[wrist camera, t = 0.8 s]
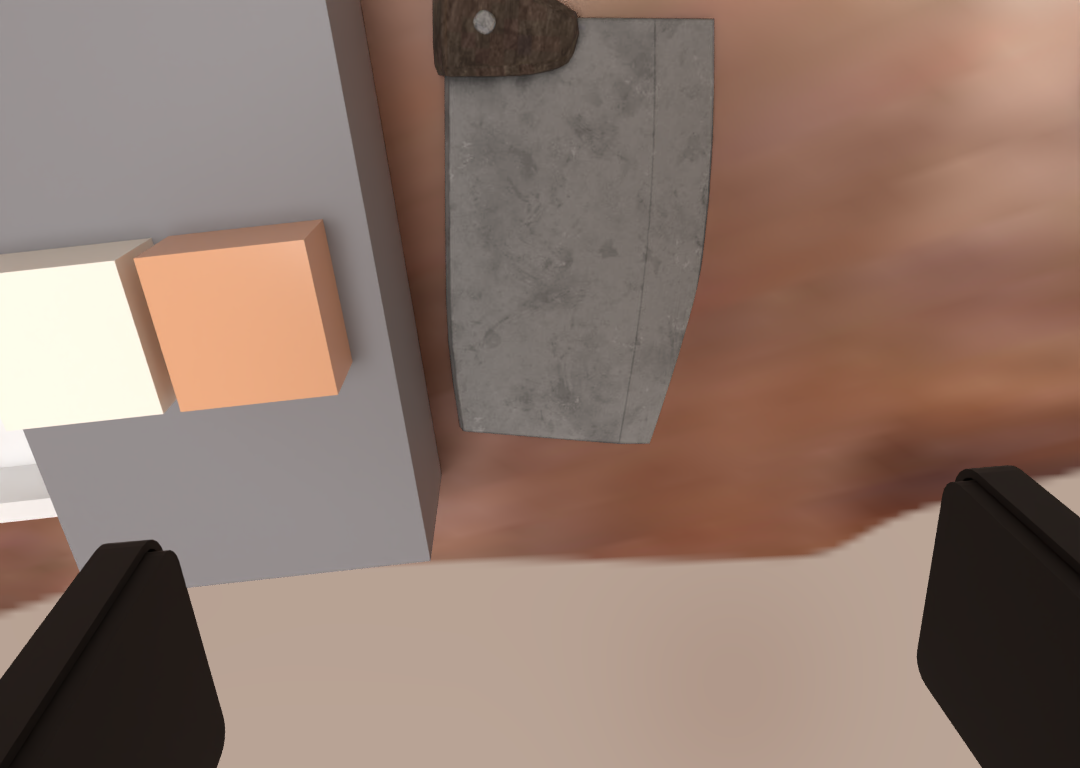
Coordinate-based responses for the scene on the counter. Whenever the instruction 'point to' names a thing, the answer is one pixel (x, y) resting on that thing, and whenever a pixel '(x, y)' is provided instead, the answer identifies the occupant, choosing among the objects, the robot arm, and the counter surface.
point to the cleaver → (571, 212)
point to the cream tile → (78, 338)
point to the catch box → (21, 480)
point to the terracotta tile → (247, 314)
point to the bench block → (211, 205)
